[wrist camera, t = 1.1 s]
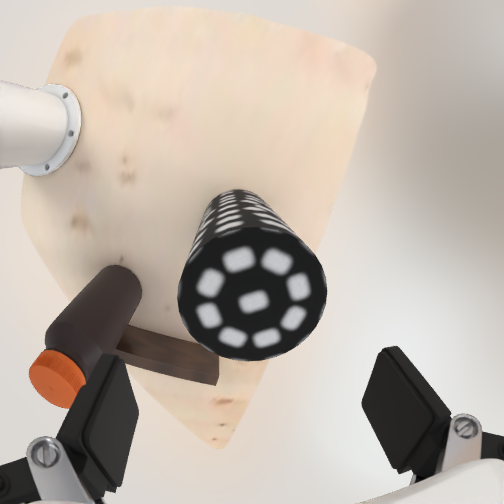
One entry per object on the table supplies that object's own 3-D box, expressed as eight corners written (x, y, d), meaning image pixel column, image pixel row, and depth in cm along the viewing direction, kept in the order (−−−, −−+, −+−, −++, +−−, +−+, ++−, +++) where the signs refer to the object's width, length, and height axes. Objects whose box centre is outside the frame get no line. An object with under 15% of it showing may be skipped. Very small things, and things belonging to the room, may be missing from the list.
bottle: (128, 318, 37) (77, 426, 18) (90, 291, 35) (16, 383, 16) (151, 283, 36) (98, 392, 17) (110, 254, 34) (25, 339, 15)
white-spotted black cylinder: (216, 265, 36) (210, 375, 17) (193, 202, 33) (153, 257, 14) (280, 244, 36) (337, 335, 17) (260, 180, 33) (308, 205, 14)
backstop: (124, 334, 38) (112, 359, 32) (125, 323, 37) (112, 348, 32) (216, 358, 40) (215, 386, 35) (219, 348, 40) (219, 375, 34)
